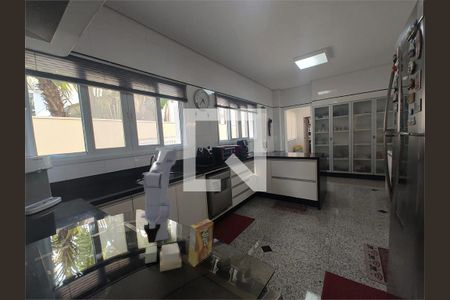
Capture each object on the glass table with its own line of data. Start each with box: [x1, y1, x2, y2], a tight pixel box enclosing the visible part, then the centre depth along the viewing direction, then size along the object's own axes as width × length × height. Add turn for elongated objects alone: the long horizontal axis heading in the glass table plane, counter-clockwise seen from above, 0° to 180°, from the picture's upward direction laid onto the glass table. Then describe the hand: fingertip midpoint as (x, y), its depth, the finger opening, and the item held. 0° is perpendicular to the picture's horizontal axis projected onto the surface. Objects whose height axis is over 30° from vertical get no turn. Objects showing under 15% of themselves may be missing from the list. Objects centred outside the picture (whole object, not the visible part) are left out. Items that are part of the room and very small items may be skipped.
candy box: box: [188, 218, 214, 268], centre depth 69 cm, size 9×4×15 cm, turn 137°
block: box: [144, 245, 158, 264], centre depth 68 cm, size 4×4×4 cm
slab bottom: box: [159, 247, 182, 272], centre depth 67 cm, size 8×8×3 cm
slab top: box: [161, 242, 180, 263], centre depth 67 cm, size 6×6×3 cm
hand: (151, 236), depth 67 cm, fingers open, 7 cm apart
